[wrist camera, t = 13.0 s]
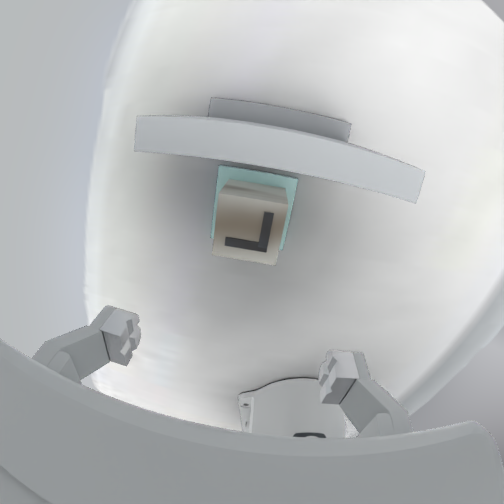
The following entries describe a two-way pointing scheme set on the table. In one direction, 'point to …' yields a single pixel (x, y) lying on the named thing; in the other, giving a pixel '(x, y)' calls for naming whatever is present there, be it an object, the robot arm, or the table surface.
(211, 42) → the table surface
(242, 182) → the letter cube
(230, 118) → the screen
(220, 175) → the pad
